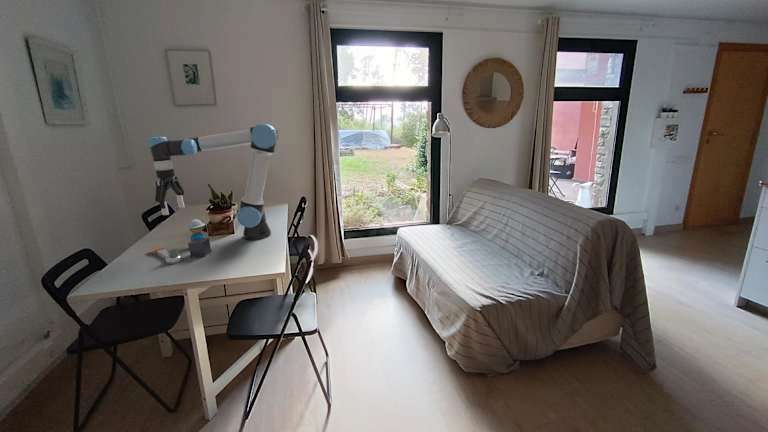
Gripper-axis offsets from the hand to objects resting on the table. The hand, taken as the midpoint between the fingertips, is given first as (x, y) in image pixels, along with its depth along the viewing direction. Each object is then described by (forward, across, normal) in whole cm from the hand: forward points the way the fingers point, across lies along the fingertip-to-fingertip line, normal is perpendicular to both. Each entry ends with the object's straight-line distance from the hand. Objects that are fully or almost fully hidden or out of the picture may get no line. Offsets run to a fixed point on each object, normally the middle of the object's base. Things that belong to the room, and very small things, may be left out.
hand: (174, 211), depth 173 cm
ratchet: (+22, +7, -5) cm, 23 cm away
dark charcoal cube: (+22, +5, +12) cm, 26 cm away
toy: (+22, -8, +5) cm, 24 cm away
